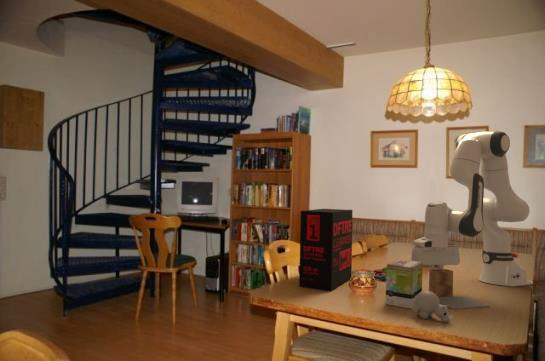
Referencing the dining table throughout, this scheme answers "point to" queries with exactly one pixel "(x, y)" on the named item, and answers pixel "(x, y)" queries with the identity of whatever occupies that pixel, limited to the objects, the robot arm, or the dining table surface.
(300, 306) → the dining table surface
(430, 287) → the walnut block
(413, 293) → the tea box
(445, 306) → the round bodied animal figurine
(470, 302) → the mat
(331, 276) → the product box
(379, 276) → the gear puzzle
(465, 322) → the dining table surface
